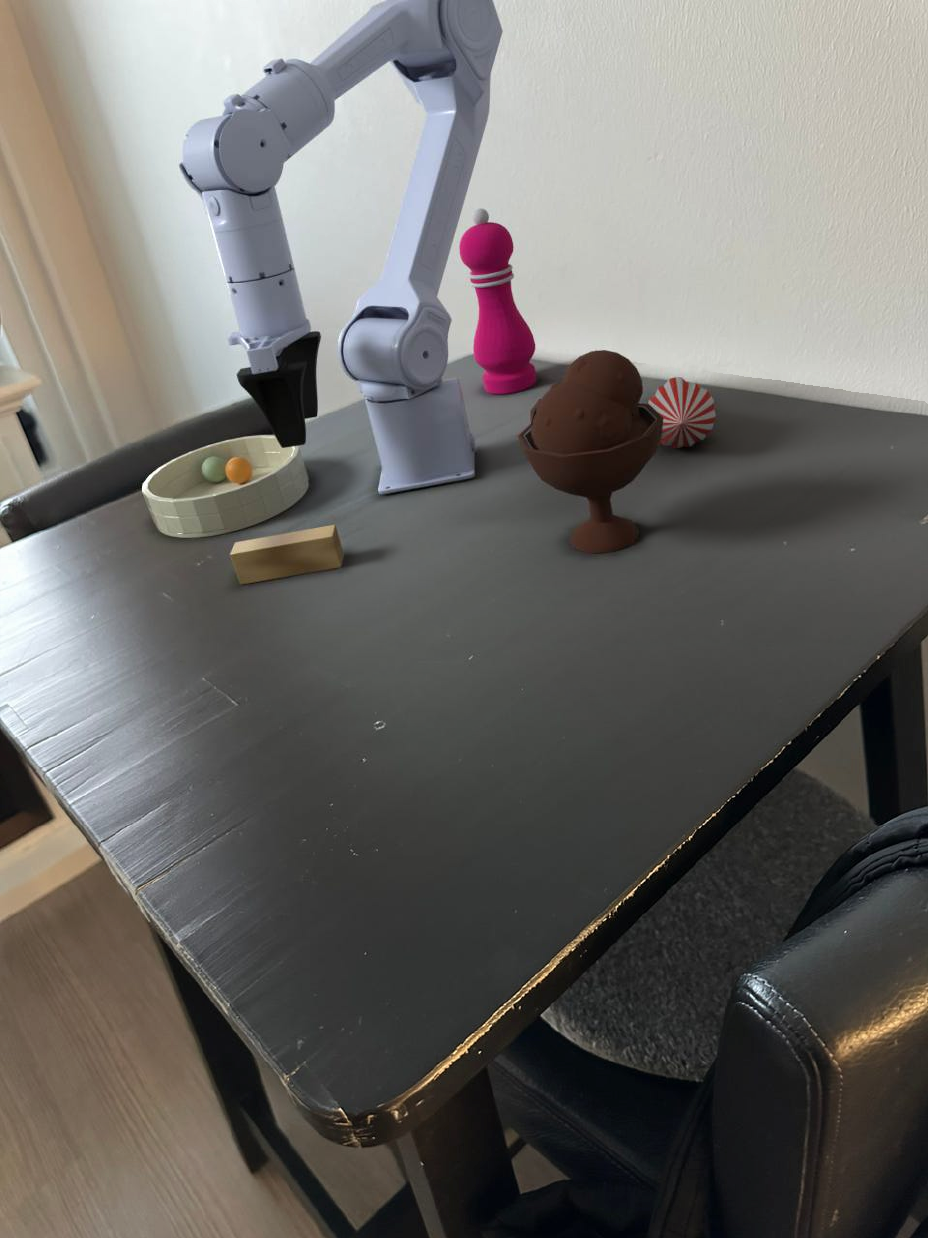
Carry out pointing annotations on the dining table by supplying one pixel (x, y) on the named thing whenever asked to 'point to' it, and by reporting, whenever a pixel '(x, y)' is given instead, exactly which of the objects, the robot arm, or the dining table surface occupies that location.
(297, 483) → the cream round tray
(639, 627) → the dining table surface
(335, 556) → the wooden block
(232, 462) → the ball
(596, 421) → the ice cream bowl
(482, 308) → the pepper mill
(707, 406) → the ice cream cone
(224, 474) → the ball
